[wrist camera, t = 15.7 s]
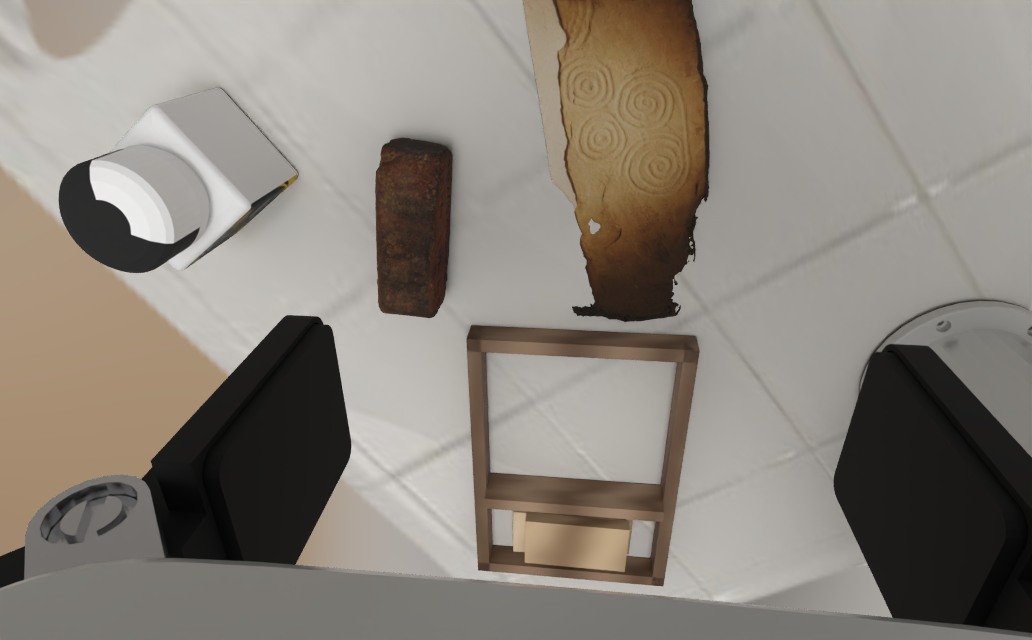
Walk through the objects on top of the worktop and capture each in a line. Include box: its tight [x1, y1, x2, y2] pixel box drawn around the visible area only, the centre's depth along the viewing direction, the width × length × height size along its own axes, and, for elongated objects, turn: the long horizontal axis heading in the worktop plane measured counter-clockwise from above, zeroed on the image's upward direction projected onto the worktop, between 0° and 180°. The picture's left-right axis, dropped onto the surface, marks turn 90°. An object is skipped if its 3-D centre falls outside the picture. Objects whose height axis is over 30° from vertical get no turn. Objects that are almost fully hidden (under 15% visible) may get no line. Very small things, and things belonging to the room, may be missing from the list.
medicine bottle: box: [59, 88, 298, 273], centre depth 37 cm, size 7×7×12 cm
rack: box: [467, 325, 699, 586], centre depth 49 cm, size 16×24×3 cm
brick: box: [375, 138, 452, 318], centre depth 40 cm, size 11×4×5 cm, turn 175°
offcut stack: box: [513, 510, 633, 572], centre depth 53 cm, size 10×5×3 cm, turn 90°
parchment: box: [523, 0, 709, 322], centre depth 38 cm, size 25×10×1 cm, turn 10°
